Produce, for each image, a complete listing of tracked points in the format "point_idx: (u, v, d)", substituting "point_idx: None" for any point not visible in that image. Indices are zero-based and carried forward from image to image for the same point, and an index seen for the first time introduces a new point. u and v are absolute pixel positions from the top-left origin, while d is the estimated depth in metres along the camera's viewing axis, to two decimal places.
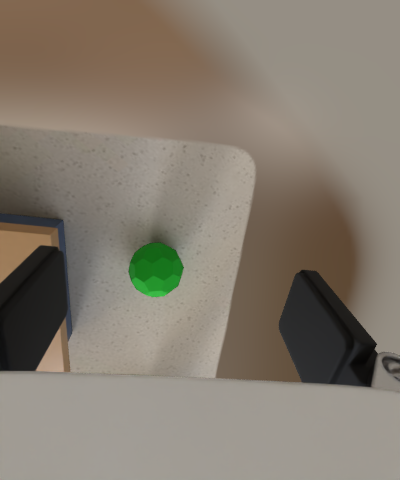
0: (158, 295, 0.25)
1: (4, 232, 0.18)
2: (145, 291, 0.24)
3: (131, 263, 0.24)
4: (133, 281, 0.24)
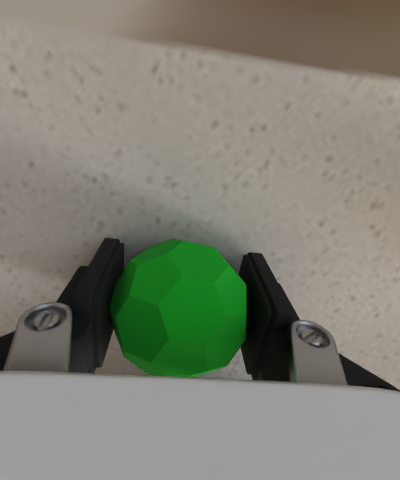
0: (238, 332, 0.09)
1: None
2: (212, 369, 0.09)
3: None
4: None
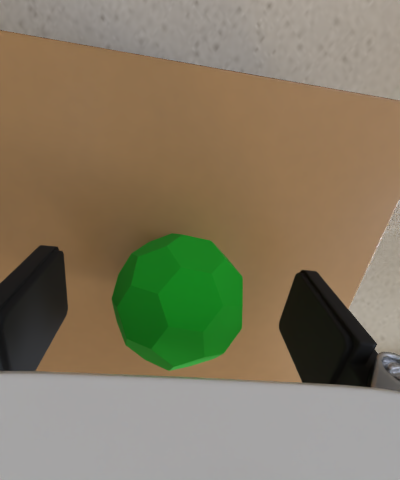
0: (234, 321, 0.09)
1: None
2: (209, 357, 0.09)
3: None
4: (188, 365, 0.10)
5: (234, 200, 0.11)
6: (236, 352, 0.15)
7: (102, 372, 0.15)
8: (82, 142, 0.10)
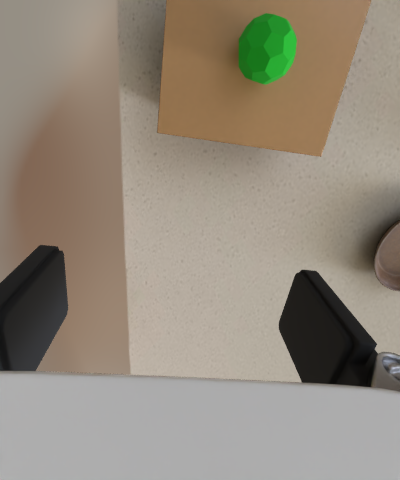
0: (293, 45, 0.22)
1: None
2: (283, 59, 0.22)
3: (252, 78, 0.24)
4: (271, 75, 0.23)
5: (287, 14, 0.24)
6: (281, 122, 0.28)
7: (208, 133, 0.28)
8: None
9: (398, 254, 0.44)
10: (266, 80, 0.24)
